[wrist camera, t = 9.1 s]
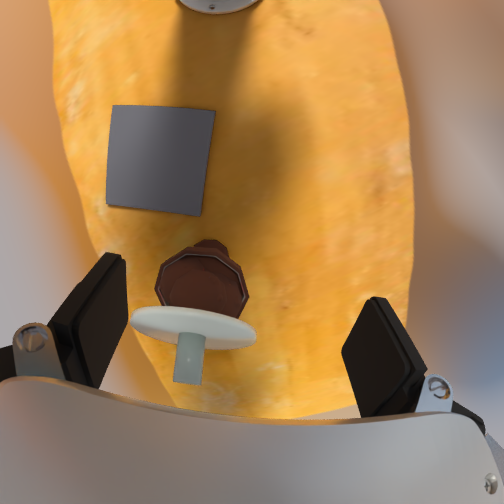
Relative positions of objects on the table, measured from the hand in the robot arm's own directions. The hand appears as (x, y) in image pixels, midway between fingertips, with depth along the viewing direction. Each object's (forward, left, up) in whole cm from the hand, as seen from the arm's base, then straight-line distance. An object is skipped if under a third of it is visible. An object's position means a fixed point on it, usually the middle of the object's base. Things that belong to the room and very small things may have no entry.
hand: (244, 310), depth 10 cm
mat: (-1, -12, -28) cm, 31 cm away
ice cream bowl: (+12, -3, -29) cm, 31 cm away
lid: (+14, -3, -14) cm, 20 cm away
